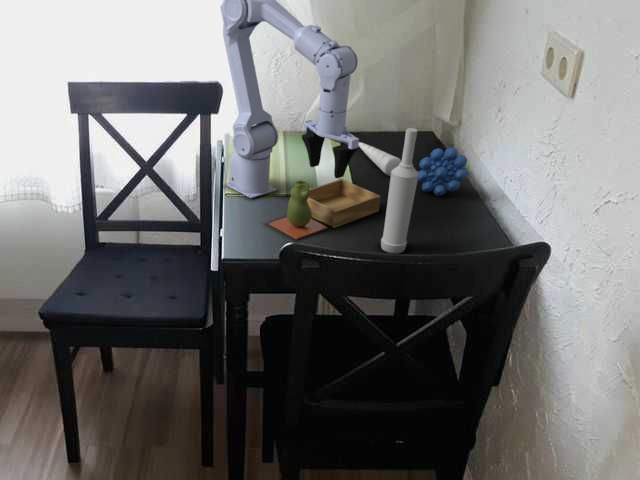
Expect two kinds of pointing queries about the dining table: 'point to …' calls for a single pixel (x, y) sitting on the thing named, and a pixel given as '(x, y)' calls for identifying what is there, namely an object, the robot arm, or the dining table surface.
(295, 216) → the pear
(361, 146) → the unicorn horn
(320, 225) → the coaster
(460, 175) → the blue knobbed flower
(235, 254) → the dining table surface
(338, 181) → the wooden shallow box
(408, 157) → the bottle
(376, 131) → the dining table surface
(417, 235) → the dining table surface
